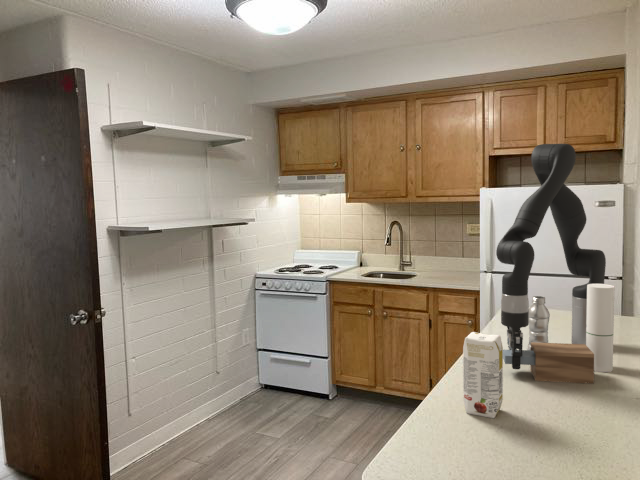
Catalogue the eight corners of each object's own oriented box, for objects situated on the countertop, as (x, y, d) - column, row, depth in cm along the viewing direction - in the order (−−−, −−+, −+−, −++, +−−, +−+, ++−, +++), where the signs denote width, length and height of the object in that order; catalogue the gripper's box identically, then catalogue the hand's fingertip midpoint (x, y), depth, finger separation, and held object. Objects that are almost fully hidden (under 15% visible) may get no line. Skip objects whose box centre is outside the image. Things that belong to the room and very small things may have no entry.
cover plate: (502, 357, 156) (502, 349, 155) (575, 360, 151) (575, 351, 151) (505, 363, 150) (505, 355, 150) (580, 366, 145) (580, 358, 145)
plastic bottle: (552, 362, 161) (552, 299, 159) (529, 362, 162) (529, 299, 160) (547, 356, 167) (548, 295, 165) (525, 355, 169) (525, 295, 167)
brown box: (530, 369, 156) (530, 342, 155) (584, 372, 152) (585, 344, 151) (535, 380, 147) (535, 351, 146) (593, 383, 143) (594, 354, 142)
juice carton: (497, 421, 122) (497, 342, 121) (461, 413, 127) (460, 337, 125) (504, 409, 129) (504, 334, 127) (469, 402, 133) (469, 330, 131)
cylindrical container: (611, 365, 157) (613, 284, 155) (613, 373, 151) (615, 288, 148) (585, 362, 160) (586, 283, 158) (586, 370, 154) (587, 287, 151)
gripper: (532, 315, 143) (532, 374, 144) (524, 303, 157) (524, 357, 158) (504, 314, 144) (503, 373, 146) (498, 303, 158) (498, 356, 160)
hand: (514, 364), depth 152 cm, fingers closed on cover plate, 6 cm apart
